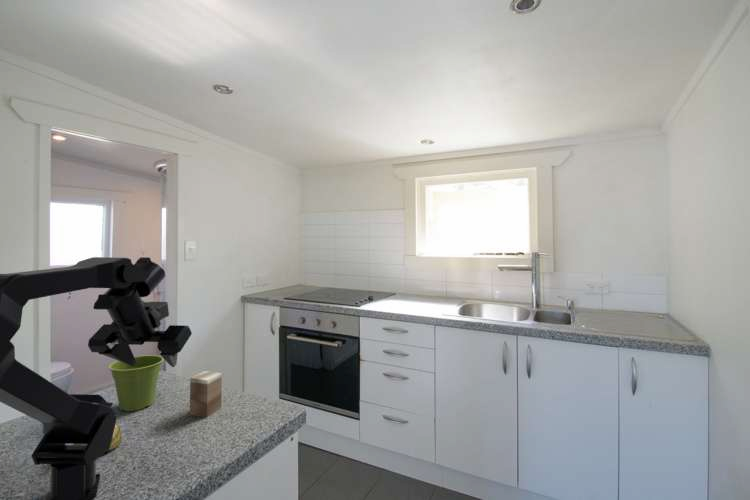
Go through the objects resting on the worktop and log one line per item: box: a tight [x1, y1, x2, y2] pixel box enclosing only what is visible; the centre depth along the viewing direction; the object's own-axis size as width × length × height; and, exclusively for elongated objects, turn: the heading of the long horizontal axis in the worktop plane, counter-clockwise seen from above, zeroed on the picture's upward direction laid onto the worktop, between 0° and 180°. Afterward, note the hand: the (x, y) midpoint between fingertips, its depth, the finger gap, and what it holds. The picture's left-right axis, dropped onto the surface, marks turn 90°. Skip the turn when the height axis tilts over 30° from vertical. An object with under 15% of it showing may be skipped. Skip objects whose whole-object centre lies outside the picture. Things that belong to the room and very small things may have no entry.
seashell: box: [73, 423, 123, 452], centre depth 71 cm, size 10×7×8 cm
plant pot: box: [107, 354, 165, 412], centre depth 89 cm, size 12×12×11 cm
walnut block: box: [189, 370, 223, 418], centre depth 87 cm, size 5×5×9 cm
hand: (154, 365), depth 78 cm, fingers open, 9 cm apart
